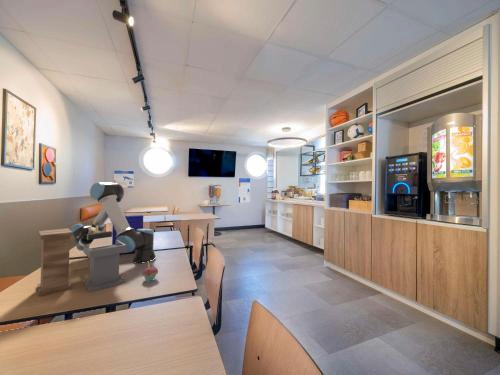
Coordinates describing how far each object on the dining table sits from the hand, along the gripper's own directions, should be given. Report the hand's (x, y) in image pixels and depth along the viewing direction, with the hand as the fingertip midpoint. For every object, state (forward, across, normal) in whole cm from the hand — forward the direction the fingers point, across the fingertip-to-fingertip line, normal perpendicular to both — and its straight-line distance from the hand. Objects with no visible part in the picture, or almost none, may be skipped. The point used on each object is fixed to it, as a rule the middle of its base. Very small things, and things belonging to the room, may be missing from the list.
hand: (94, 227), depth 138 cm
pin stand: (-2, +20, -31) cm, 37 cm away
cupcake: (+20, -20, -44) cm, 52 cm away
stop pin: (+1, 0, -5) cm, 5 cm away
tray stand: (+8, 0, -37) cm, 38 cm away
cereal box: (-37, -29, -11) cm, 48 cm away
